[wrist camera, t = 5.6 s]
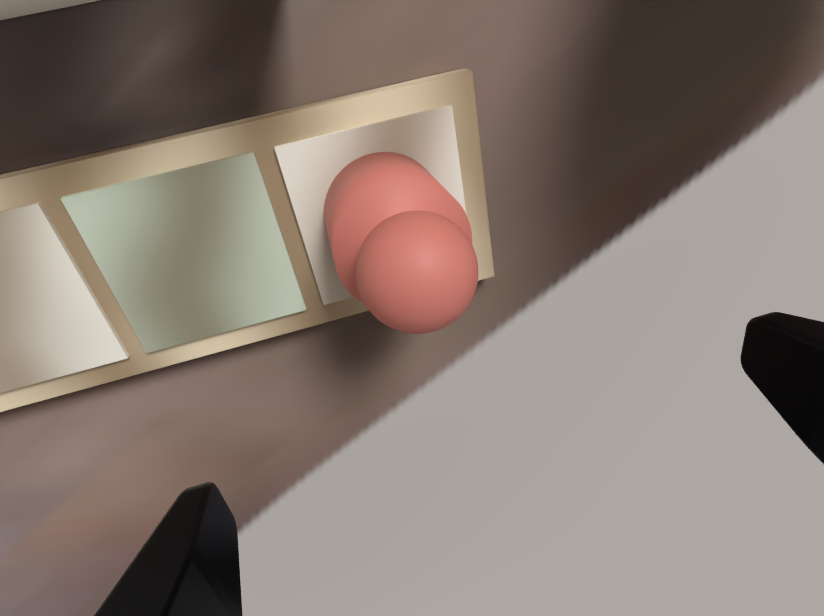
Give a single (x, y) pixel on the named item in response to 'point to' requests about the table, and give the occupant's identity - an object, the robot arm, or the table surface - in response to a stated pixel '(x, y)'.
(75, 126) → the table surface
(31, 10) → the frame
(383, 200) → the pawn
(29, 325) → the board
